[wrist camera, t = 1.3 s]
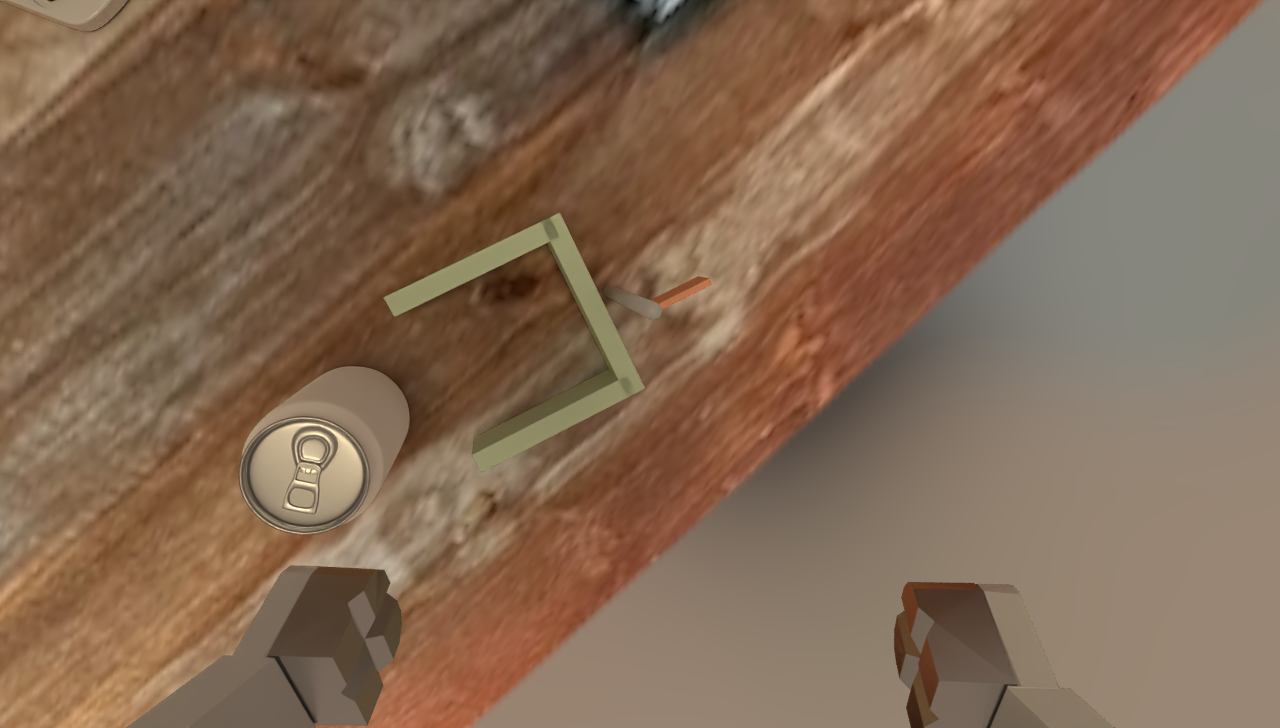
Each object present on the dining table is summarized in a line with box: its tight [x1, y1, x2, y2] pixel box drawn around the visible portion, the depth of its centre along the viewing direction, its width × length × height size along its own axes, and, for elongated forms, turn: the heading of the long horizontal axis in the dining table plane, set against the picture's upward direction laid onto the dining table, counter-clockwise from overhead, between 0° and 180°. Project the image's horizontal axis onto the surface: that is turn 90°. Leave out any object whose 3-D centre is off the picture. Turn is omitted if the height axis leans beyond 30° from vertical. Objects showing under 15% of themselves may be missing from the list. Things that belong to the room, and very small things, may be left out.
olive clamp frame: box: [384, 213, 712, 472], centre depth 39 cm, size 15×11×14 cm
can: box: [239, 366, 410, 535], centre depth 39 cm, size 6×6×12 cm
